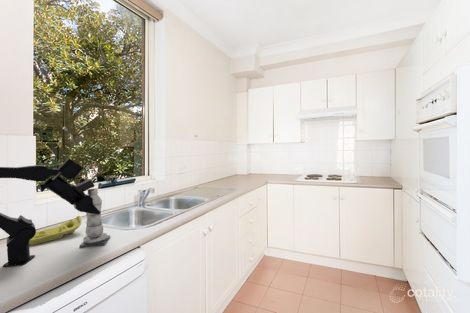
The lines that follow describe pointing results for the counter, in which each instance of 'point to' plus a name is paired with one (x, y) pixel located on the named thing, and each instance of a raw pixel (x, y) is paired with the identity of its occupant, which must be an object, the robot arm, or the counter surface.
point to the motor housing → (95, 241)
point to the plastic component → (56, 231)
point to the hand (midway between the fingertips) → (96, 211)
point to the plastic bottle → (94, 216)
